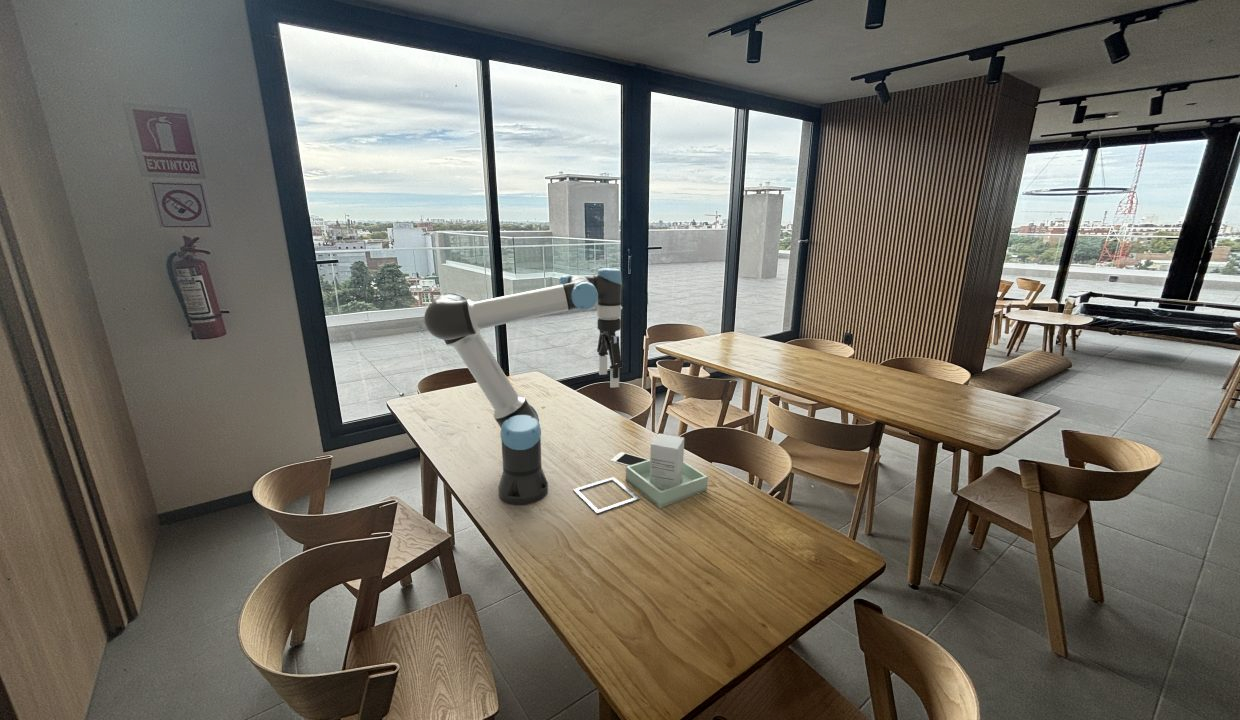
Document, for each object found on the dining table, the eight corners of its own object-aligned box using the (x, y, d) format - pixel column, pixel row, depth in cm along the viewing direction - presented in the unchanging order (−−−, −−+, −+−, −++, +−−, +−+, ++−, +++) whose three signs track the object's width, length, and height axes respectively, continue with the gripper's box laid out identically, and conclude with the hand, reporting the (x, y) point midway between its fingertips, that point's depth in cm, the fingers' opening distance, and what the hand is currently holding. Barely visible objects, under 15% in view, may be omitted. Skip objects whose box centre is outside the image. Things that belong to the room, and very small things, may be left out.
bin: (660, 508, 146) (660, 493, 144) (625, 480, 161) (626, 466, 159) (706, 490, 156) (707, 476, 154) (670, 466, 171) (671, 453, 169)
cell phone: (620, 453, 180) (620, 451, 180) (660, 464, 173) (660, 462, 172) (610, 461, 174) (610, 460, 174) (650, 473, 166) (650, 472, 166)
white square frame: (597, 514, 142) (597, 513, 142) (573, 490, 154) (573, 489, 154) (639, 499, 150) (639, 498, 150) (613, 478, 162) (613, 476, 162)
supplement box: (656, 473, 163) (658, 432, 159) (682, 479, 160) (685, 437, 156) (648, 487, 155) (649, 443, 151) (675, 492, 152) (678, 449, 148)
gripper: (633, 324, 147) (631, 391, 153) (609, 310, 169) (608, 368, 175) (609, 326, 144) (608, 393, 150) (588, 310, 167) (588, 370, 173)
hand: (608, 380), depth 163 cm, fingers open, 13 cm apart
